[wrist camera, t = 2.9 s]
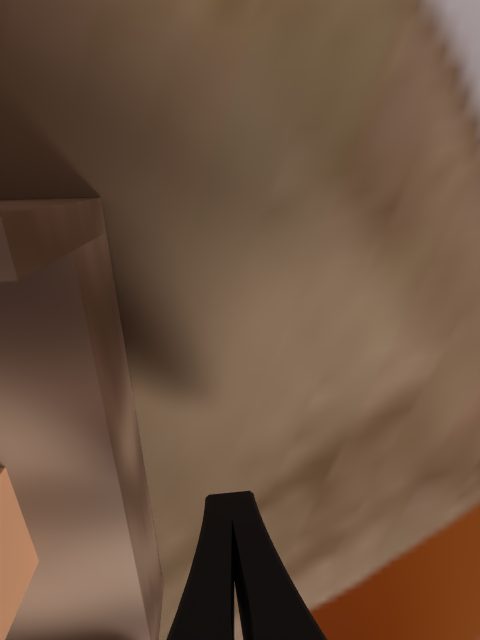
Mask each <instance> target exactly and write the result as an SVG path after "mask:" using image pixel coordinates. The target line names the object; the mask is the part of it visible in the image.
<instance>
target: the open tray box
mask: <svg viewBox="0 0 480 640" xmlns="http://www.w3.org/2000/svg"><path fill="white" fill-rule="evenodd" d="M1 467H6V470H7V473H8V476H9V478H10V481H11V484H12V487H13V490H14V492H15V495H16V498H17V501H18V504H19V506H20V509H21V512H22V515H23V518H24V520H25V523H26V526H27V529H28V532H29V534H30V537H31V540H32V543H33V546H34V548H35V551H36V554H37V557H38V560H39V562H38V564H37V567H36V569H35V571H34V574H33V576H32V578H31V581H30V583H29V585H28V588H27V590H26V592H25V595H24V597H23V599H22V602H21V604H20V606H19V609H18V611H17V613H16V616H15V618H14V620H13V623H12V625H11V627H10V630H9V632H8V634H7V637H6V639H5V640H159V630H160V620H161V609H162V599H163V589H164V586H163V580H162V574H161V568H160V561H159V555H158V549H157V543H156V537H155V530H154V524H153V518H152V512H151V505H150V499H149V493H148V487H147V481H146V474H145V468H144V462H143V456H142V450H141V443H140V437H139V431H138V425H137V418H136V412H135V406H134V400H133V394H132V387H131V381H130V375H129V369H128V363H127V356H126V350H125V344H124V338H123V331H122V325H121V319H120V313H119V307H118V300H117V294H116V288H115V282H114V276H113V269H112V263H111V257H110V251H109V244H108V238H107V232H106V226H105V220H104V213H103V207H102V201H101V198H70V199H30V200H0V468H1Z"/></svg>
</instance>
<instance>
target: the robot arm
mask: <svg viewBox="0 0 480 640" xmlns="http://www.w3.org/2000/svg"><path fill="white" fill-rule="evenodd" d="M234 581H235V588H236V594H237V601H238V607H239V614H240V621H241V627H242V634H243V640H327V639H326V637H325V635H324V634H323V632H322V631H321V629H320V628H319V626H318V624H317V623H316V621H315V620H314V618H313V616H312V615H311V613H310V611H309V610H308V608H307V606H306V605H305V603H304V601H303V600H302V598H301V596H300V594H299V593H298V591H297V589H296V587H295V586H294V584H293V582H292V580H291V578H290V576H289V575H288V573H287V571H286V569H285V567H284V565H283V563H282V561H281V559H280V557H279V555H278V553H277V551H276V549H275V547H274V545H273V543H272V541H271V539H270V537H269V534H268V532H267V530H266V527H265V525H264V523H263V520H262V518H261V515H260V513H259V510H258V507H257V504H256V501H255V498H254V494H253V493H252V492H251V491H243V492H233V493H223V494H212V495H208V496H207V497H206V499H205V510H204V517H203V522H202V527H201V532H200V536H199V540H198V545H197V548H196V552H195V555H194V559H193V563H192V566H191V570H190V573H189V577H188V580H187V583H186V586H185V589H184V592H183V595H182V598H181V601H180V604H179V607H178V610H177V613H176V615H175V618H174V621H173V624H172V626H171V629H170V632H169V634H168V637H167V640H234Z"/></svg>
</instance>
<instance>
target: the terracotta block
mask: <svg viewBox="0 0 480 640" xmlns="http://www.w3.org/2000/svg"><path fill="white" fill-rule="evenodd" d="M38 562H39V560H38V557H37V554H36V551H35V548H34V546H33V543H32V540H31V537H30V534H29V532H28V529H27V526H26V523H25V520H24V518H23V515H22V512H21V509H20V506H19V504H18V501H17V498H16V495H15V492H14V490H13V487H12V484H11V481H10V478H9V476H8V473H7V470H6V467H1V468H0V640H5V639H6V637H7V634H8V632H9V630H10V627H11V625H12V623H13V620H14V618H15V616H16V613H17V611H18V609H19V606H20V604H21V602H22V599H23V597H24V595H25V592H26V590H27V588H28V585H29V583H30V581H31V578H32V576H33V574H34V571H35V569H36V567H37V564H38Z"/></svg>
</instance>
